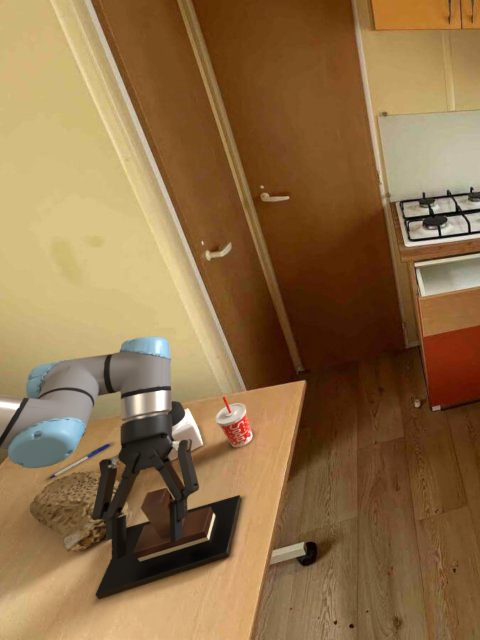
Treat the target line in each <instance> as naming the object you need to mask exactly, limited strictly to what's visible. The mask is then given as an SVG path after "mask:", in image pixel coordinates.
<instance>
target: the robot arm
mask: <svg viewBox="0 0 480 640" xmlns="http://www.w3.org/2000/svg"><path fill="white" fill-rule="evenodd" d="M170 350H171V349H170V341H169V340H168V339H167V338H165V337H162V336H142V337H141V336H140V337H136V338H132V339H127V340H124V341H123V342H122V343H121V345H120V349H119V351H117V352H114V353H108V354H100V355H94V356H93V355H92V356H87V357H85V356H84V357H79V358H72V359H71V358H70V359H61V360H59V361H58V360H57V361H53V362H48V363H44V364H43V363H42V364H39V365H37V366H35V367H34V368H32V369H31V370H30V372H29V373H28V376H27V382H25V393H26V397H24V396H23V397H22V396H15V395H8V394H1V393H0V450H7V456H8V459H9V460H10V462H12V463H13V464H14V465H15V464H16V465H19V466H21V467H22V468H25V469H41V468H46V467H50V466H54V465H56V464H59V463H61V462H63V461H65V460H66V459H67V458H69V457H70V456H71V455H72V454H73V453H74V452H75V451H76V449H77V447H78V445H79V443H80V441H81V439H82V438H83V437H84V435H85V434H86V428H87V425H88V422H89V419H90V416H91V414H92V412H93V409H94V407H95V404H96V401H97V400H98V397H100V396H104V395H105V396H106V395H109V394H115V393H118V392H120V420H121V421H122V422H124V423H122V424H121V425H120V438H119V439H120V440H119V441H120V446H121V447H120V451H119V452H118V454H117V455H115V456H114V455H113V456H112V457H109V458H105V459H102V460H100V461H99V463H98V467H99V471H100V472H99V473H100V474H101V476H100V481H99V486H98V490H97V495H96V500H95V505H94V510H93V515H92V519H93V520H105V521H106V534H105V540H106V541H110V540H111V558H110V560H111V561H114V560H117V559H119V558H121V557H123V556H124V555H126V528H127V519H126V515H124V516H121V515H122V514H123V513H121V512H122V510H123V508H124V505H125V503H126V502H127V500H128V498H129V496H130V494H131V491H132V489H133V486H134V484H135V482H136V480H137V478H138V476H140V474H141V472H142V471H144V470H147V469H152V468H154V469H155V470H156V471H157V472H158V473H159V475H160V476H161V478H162V480H163V482H164V483H165V485H166V488H167V489H168V491H169V492H170V494H171V496H172V497H173V499H174V500H173V501H174V502H173V503H170V540H171V543H173V542H176V541H178V540H179V539H181V538H182V537H183V530H182V519H183V518H185V517H187V514H188V510H189V509H188V498H189V497H190V496H191V495H192V494H194V493H195V492H197V491H198V490H200V484H199V481H198V476H197V473H196V468H195V464H194V459H193V456H192V451H191V445H192V440H191V439H186V440H182V441H175V440H174V439H173V437H172V416H171V415H170V414H168V412H170V411H171V410H172V404H171V401H172V358H171V351H170ZM173 447H174V448H175V451H176V452H178V458H177V459H178V464H179V468H180V472H181V477H182V480H181V478H180V476H179V475H178V473H177V471H176V469H175V468H174V466H173V462H172V461H171V460H170V458H169V456H168V455H169V453H170V452H171V450H172V449H173ZM120 462H121V463H122V464H123V465H124V466H125V467H124V468H123V471H122V474H121V477H120V478H121V479H120V481H119V486H118V488H117V490H116V492H115V495H114V497H113V499H112V495H113V490H114V484H115V480H117V473H118V468H119V466H120ZM182 481H183V482H182ZM111 500H112V501H111ZM119 516H121V517H119Z"/></svg>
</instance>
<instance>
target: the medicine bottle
mask: <svg viewBox="0 0 480 640" xmlns="http://www.w3.org/2000/svg"><path fill="white" fill-rule="evenodd" d="M171 404H172V410H171V411H170V412H168V414H170V415H171V416H172V437H173V439H174V440H175V441H182V440H186V439H191V440H192V445H191V452H192V451H194V450H197V449H198V448H200V447H202V446H203V445H204V443H203V440H202V436H201V432H200V430H199V427H198V425H197V422H196V420H195V419H194V416H193V415H192V412H191V411H190V409H189V408H185V409H184V406H183V405H182V403H181V402H180V401H176V400H171ZM168 456H169V458H170V460H171V462H172V461H175V460H176V459H178V452H176V451H175V448H174V447H173V449H172V450H171V452H170V453H169V455H168Z"/></svg>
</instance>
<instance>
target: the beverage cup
mask: <svg viewBox="0 0 480 640" xmlns="http://www.w3.org/2000/svg"><path fill="white" fill-rule="evenodd" d="M222 400H223V402H224V404H225V407H223V408H221V409H220V410H219V411H218V412H217V413H216V415H215V417H214V418H215V422H216V424H217V425H218V426H219V427H220V428H221V430H222V432H223V433H224V435H225V437H226V439H227V440H228V443H229V444H230V446H231V447H233V448H241V447H244V446H245V445H247V444H249V443H250V442H251V441H252V439H253V432H252V429H251V425H250V421H249V418H248V415H247V407H246V405H245V404H244V403H239V402H237V403H231V404H229V403H228V401H227V398H226V396H223V397H222Z"/></svg>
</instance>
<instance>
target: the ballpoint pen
mask: <svg viewBox="0 0 480 640" xmlns="http://www.w3.org/2000/svg"><path fill="white" fill-rule="evenodd" d="M110 446H111V444H110V443H106V444H104V445H102V446H100V447H98V448H97V449H95V450H92V451H91V452H90V453H89V454H87V455H86V456H84V457H83V458H81V459H78V460H77V461H75V462H73V463H72V464H70V465H68V466H65V468H62V469H61V470H58V472H55V473H54V474H53V475H52V474H51V476H50V477H49V479H50V480H51V479H53V478H55V477H58V476H60V475H61V474H63V473H65V472H66V471H68V470H70V469H71V468H73V467H76V466H77V465H79V464H81V463H83V462H84V461H86V460H88V459H90V458H91V457H93V456H95V455H97V454H98V453H100V452H102V451H104V450H106V449H108V448H110Z"/></svg>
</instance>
